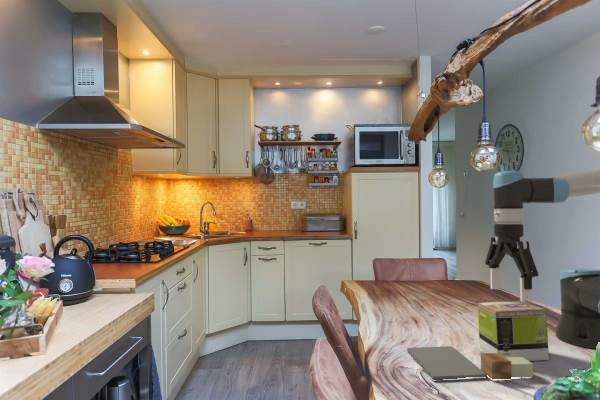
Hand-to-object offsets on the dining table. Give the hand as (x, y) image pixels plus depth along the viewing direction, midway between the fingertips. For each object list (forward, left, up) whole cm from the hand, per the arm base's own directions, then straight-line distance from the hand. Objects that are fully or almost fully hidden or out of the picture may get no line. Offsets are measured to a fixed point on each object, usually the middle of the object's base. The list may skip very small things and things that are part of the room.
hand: (509, 294), depth 103 cm
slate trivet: (+23, +4, -18) cm, 29 cm away
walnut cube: (+13, +12, -18) cm, 25 cm away
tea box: (0, 0, -18) cm, 18 cm away
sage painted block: (+7, +12, -18) cm, 23 cm away
